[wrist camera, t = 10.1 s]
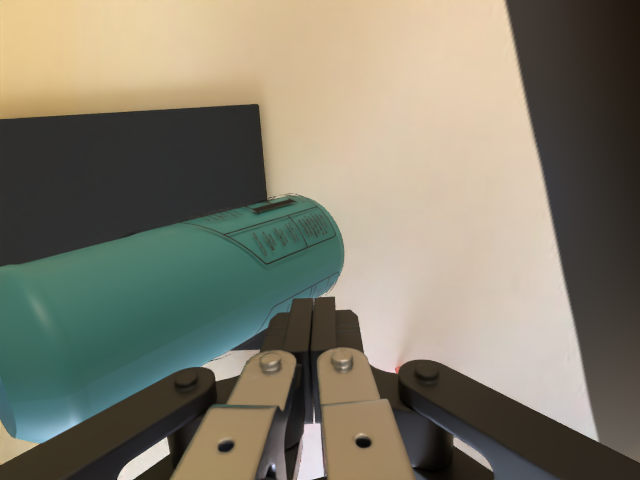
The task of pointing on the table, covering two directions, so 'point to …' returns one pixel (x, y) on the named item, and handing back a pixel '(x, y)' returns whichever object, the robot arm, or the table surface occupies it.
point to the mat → (123, 176)
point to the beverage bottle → (152, 307)
